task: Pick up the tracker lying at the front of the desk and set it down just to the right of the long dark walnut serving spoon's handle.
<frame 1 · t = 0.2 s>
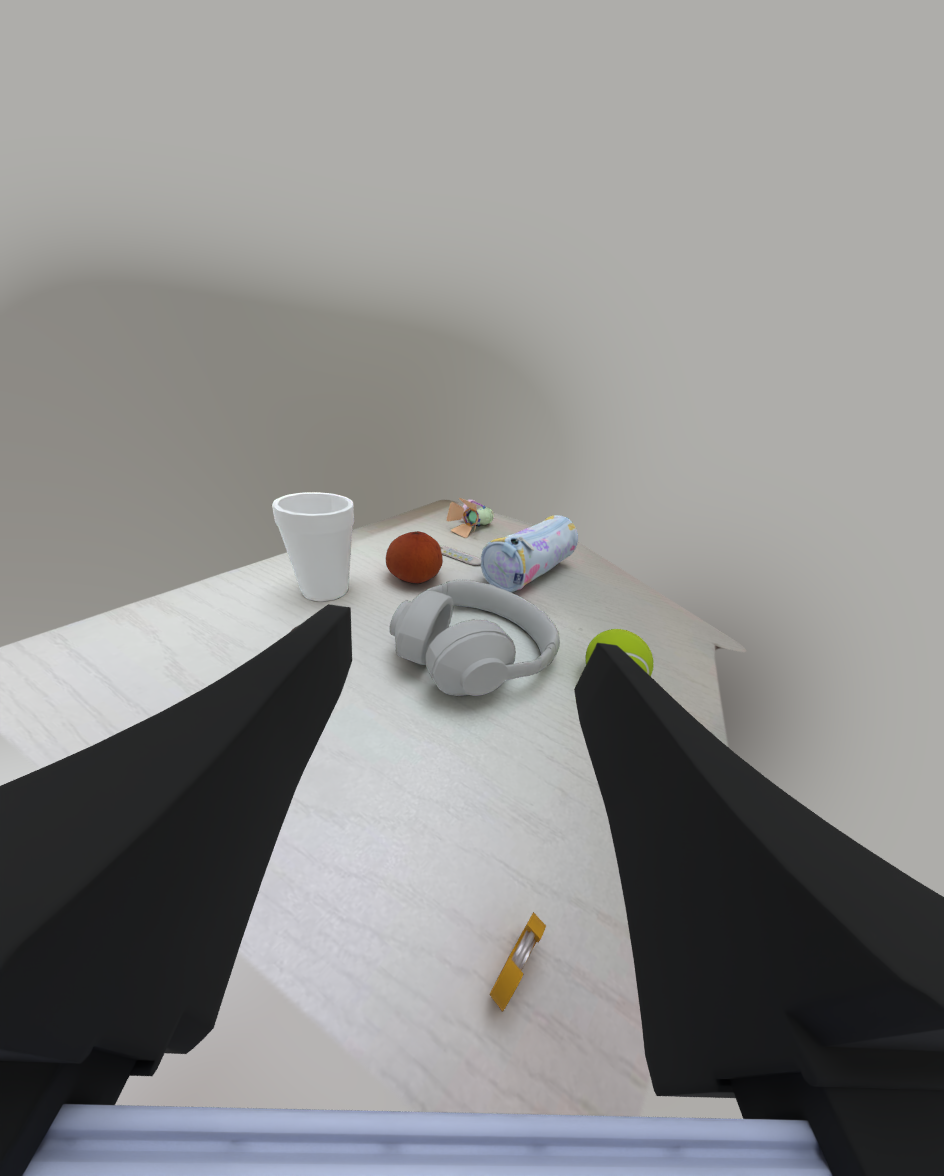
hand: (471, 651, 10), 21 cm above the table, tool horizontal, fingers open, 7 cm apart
headphones: (473, 649, 42), on the table
pencil case: (526, 573, 62), on the table
tracker: (511, 969, 19), on the table
foam cup: (325, 590, 49), on the table
fruit: (413, 579, 55), on the table
spotlight: (472, 528, 78), on the table
keychain: (457, 556, 64), on the table
tennis ball: (607, 683, 40), on the table
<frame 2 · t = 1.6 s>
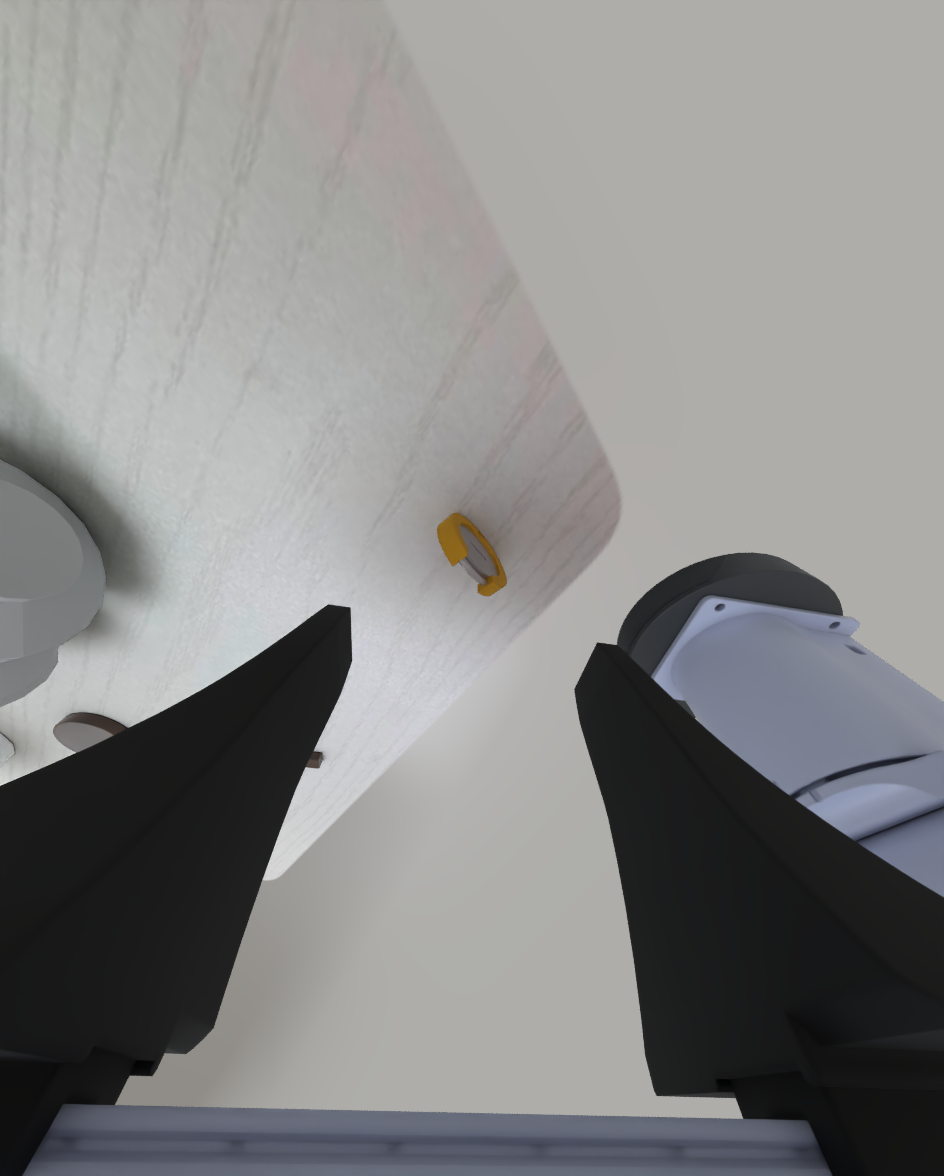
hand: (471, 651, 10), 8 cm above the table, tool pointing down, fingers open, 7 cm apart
tracker: (473, 535, 17), on the table
spoon: (101, 733, 26), on the table
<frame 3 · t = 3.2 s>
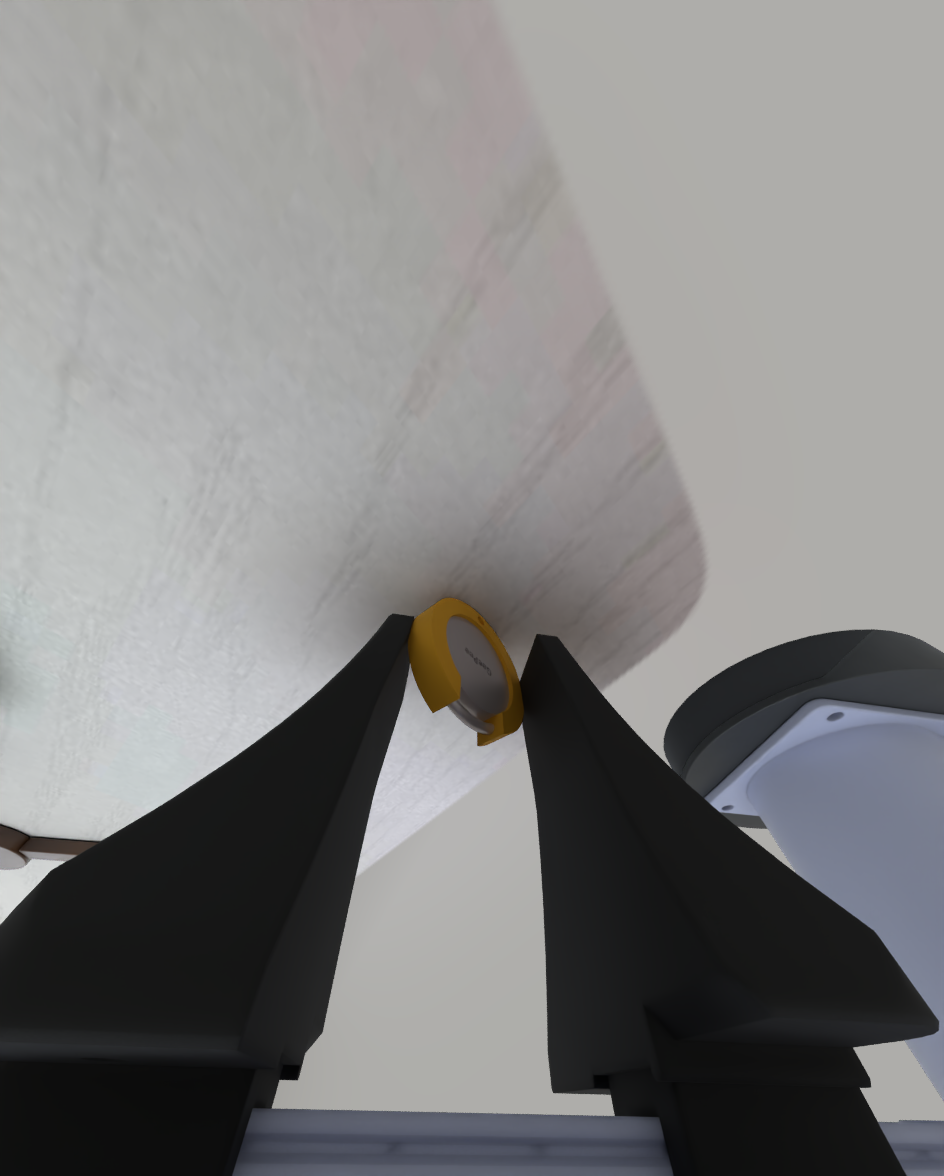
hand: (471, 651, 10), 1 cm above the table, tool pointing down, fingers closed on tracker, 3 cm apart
tracker: (471, 618, 11), on the table, touching gripper
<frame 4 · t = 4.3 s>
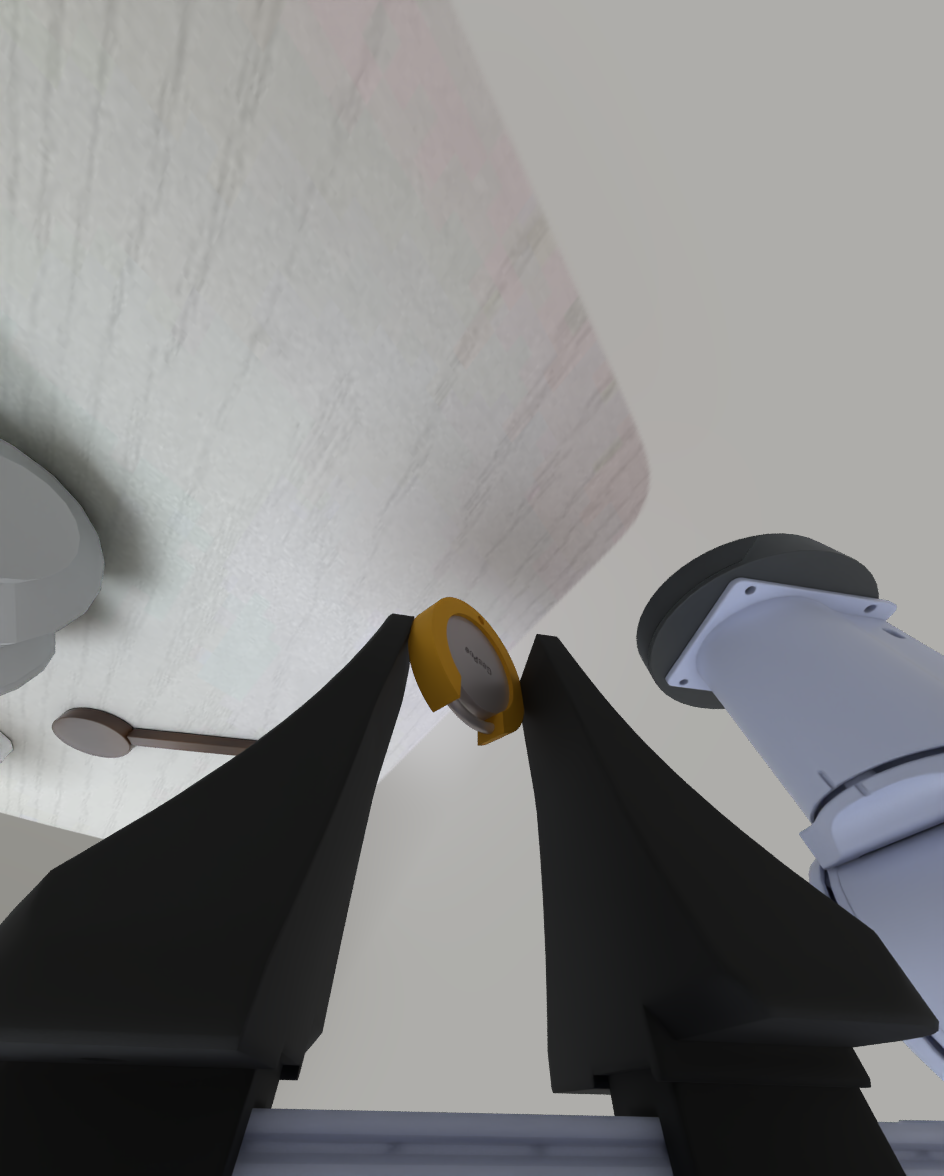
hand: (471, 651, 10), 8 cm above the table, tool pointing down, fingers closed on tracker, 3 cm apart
tracker: (471, 617, 11), point 7 cm above the table, touching gripper
spoon: (101, 729, 25), on the table
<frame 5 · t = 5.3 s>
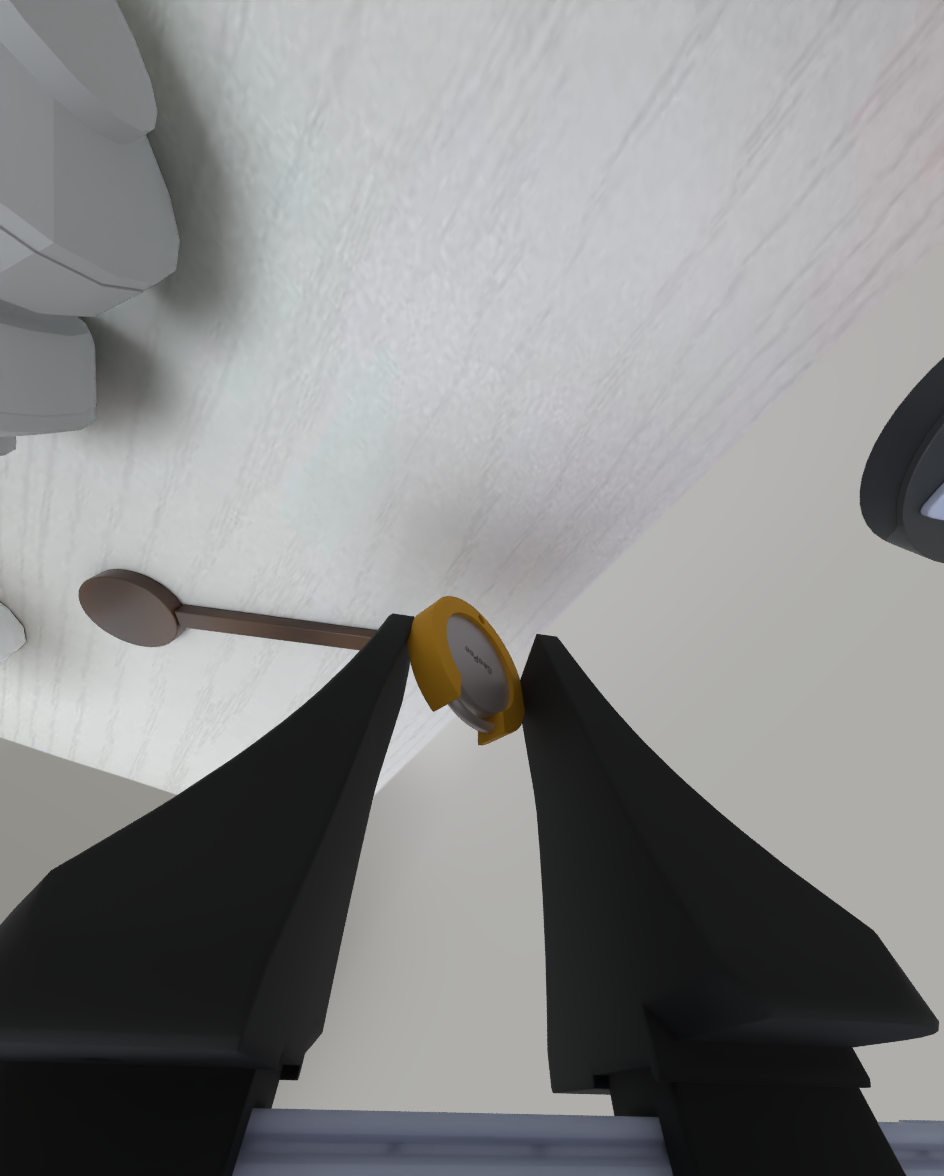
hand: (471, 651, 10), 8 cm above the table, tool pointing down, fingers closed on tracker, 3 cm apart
tracker: (471, 617, 11), point 7 cm above the table, touching gripper
spoon: (141, 606, 20), on the table
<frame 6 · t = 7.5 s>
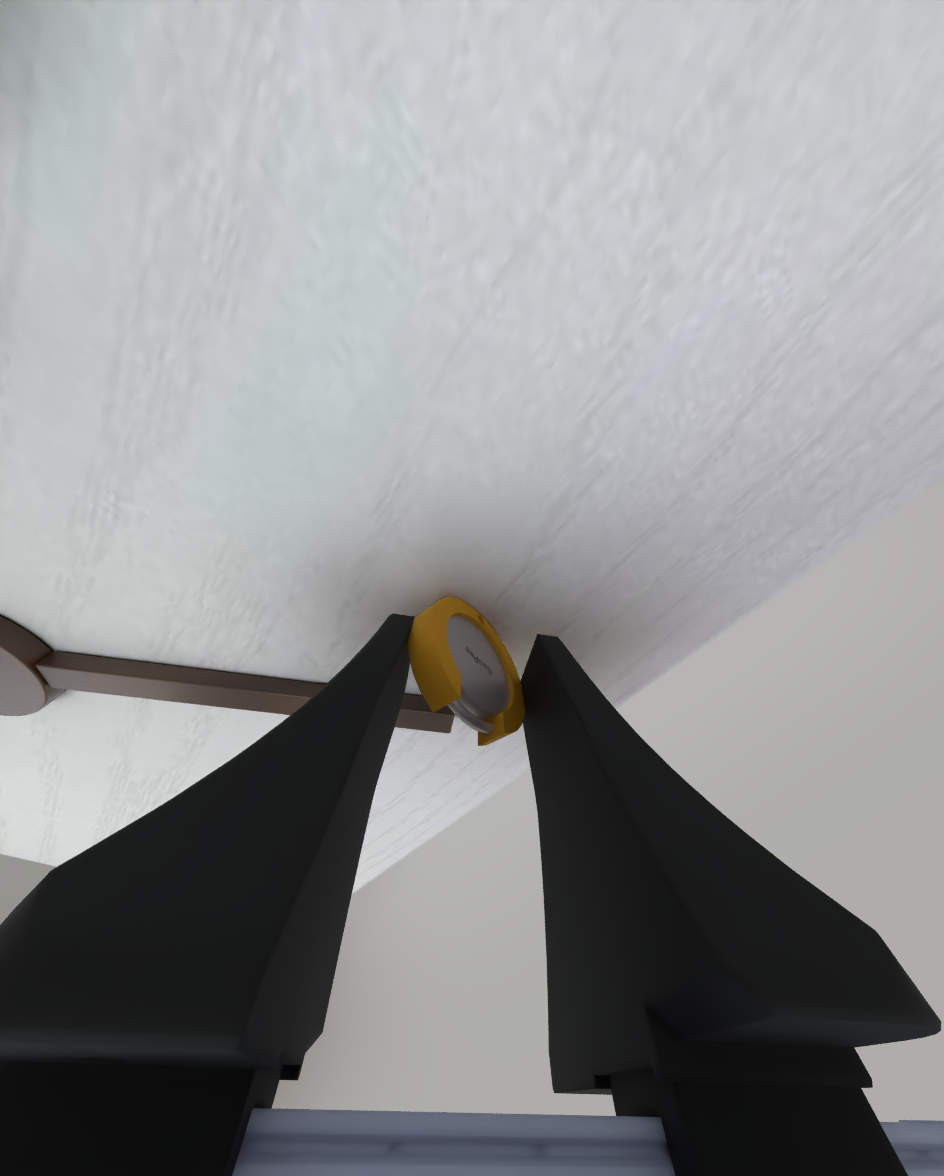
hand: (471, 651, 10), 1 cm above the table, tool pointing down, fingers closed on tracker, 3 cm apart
tracker: (471, 617, 11), on the table, touching gripper
when the fingers open (1 cm above the table, at t = 7.7 s): tracker stays where it is, on the table.
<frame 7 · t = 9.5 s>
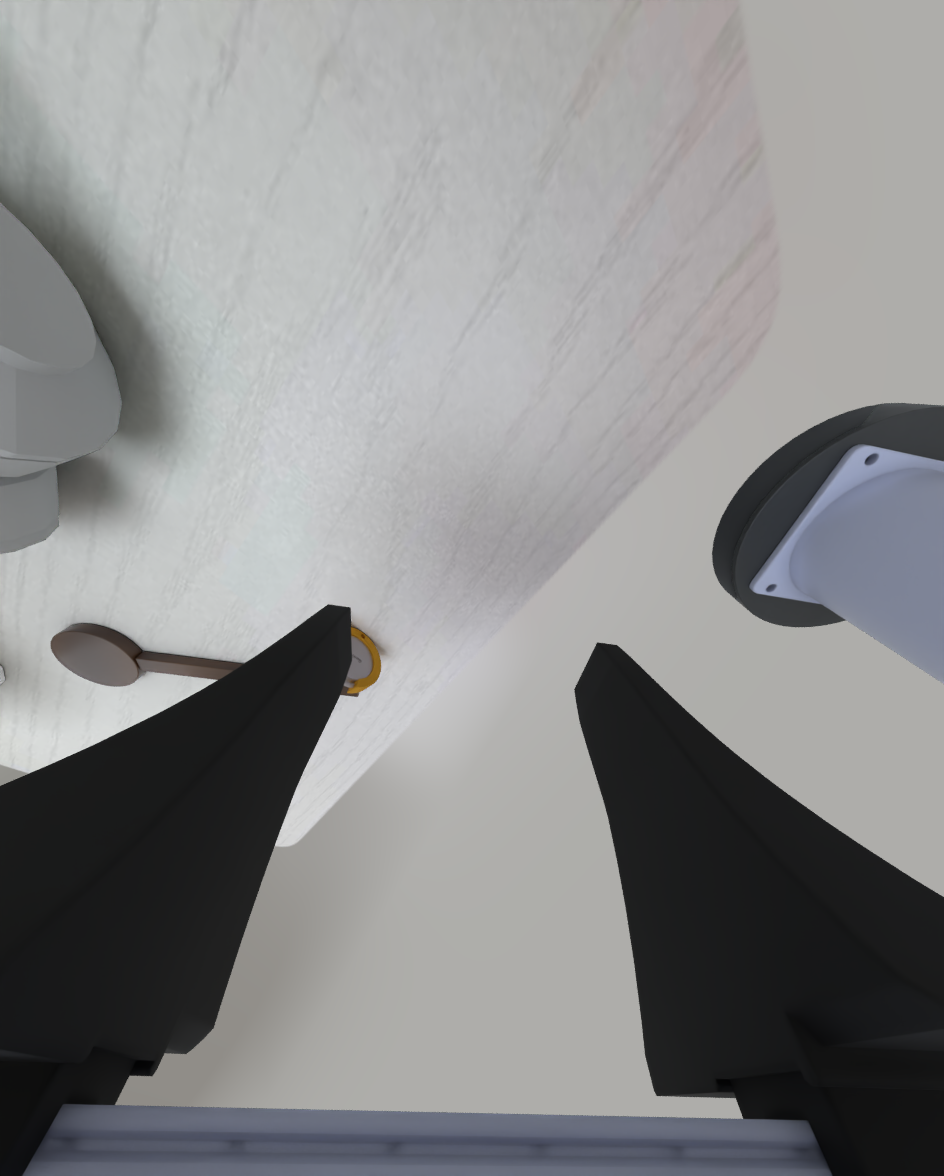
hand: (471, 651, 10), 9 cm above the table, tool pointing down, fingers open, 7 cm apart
tracker: (361, 634, 22), on the table
spoon: (106, 652, 23), on the table
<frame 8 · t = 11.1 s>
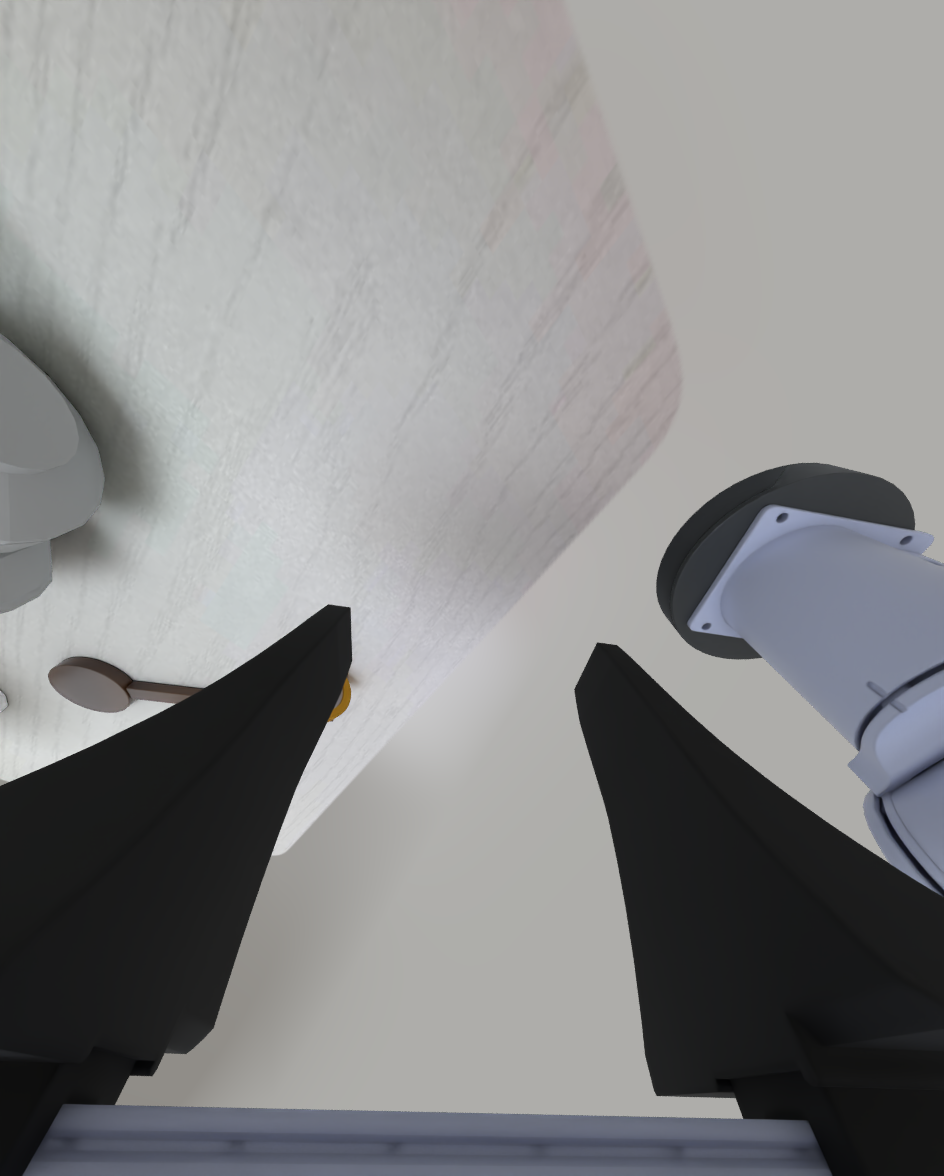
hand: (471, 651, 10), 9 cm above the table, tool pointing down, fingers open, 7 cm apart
tracker: (333, 665, 24), on the table
spoon: (100, 681, 25), on the table
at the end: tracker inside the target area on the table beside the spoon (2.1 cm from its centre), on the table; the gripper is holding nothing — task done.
